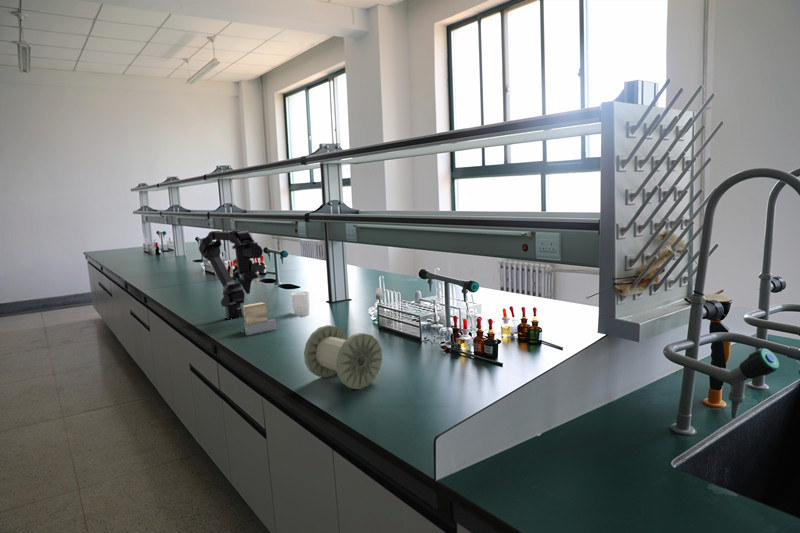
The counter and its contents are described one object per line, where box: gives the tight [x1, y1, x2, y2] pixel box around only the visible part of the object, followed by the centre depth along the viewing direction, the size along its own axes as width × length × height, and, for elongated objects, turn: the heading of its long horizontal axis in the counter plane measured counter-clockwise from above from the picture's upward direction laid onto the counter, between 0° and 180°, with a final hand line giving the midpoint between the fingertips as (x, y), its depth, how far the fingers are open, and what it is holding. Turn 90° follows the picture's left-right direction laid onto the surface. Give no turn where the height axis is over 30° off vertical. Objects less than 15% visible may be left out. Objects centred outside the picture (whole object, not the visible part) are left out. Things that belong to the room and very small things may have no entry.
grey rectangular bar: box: [244, 318, 278, 336], centre depth 205 cm, size 2×12×4 cm, turn 123°
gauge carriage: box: [241, 302, 268, 332], centre depth 209 cm, size 4×10×10 cm, turn 123°
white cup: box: [290, 291, 310, 318], centre depth 234 cm, size 8×8×10 cm
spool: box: [303, 324, 383, 390], centre depth 148 cm, size 16×15×15 cm
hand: (248, 293), depth 228 cm, fingers closed
